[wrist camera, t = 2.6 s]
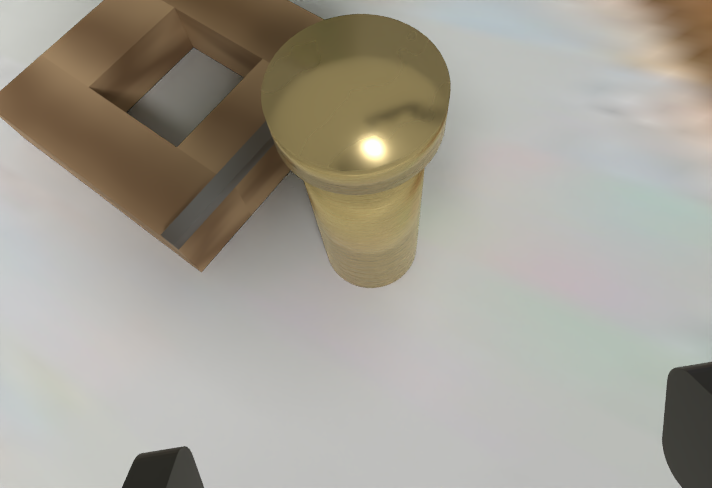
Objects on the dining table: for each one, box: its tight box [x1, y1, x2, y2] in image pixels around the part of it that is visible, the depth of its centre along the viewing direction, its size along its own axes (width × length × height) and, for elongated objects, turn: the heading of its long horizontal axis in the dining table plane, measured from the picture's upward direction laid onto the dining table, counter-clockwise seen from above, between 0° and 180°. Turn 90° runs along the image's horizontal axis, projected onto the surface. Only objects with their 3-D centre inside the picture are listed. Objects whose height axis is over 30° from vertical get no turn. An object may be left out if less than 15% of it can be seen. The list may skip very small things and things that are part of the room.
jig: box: [0, 0, 324, 272], centre depth 28 cm, size 14×14×4 cm
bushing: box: [261, 14, 450, 288], centre depth 21 cm, size 5×5×12 cm
